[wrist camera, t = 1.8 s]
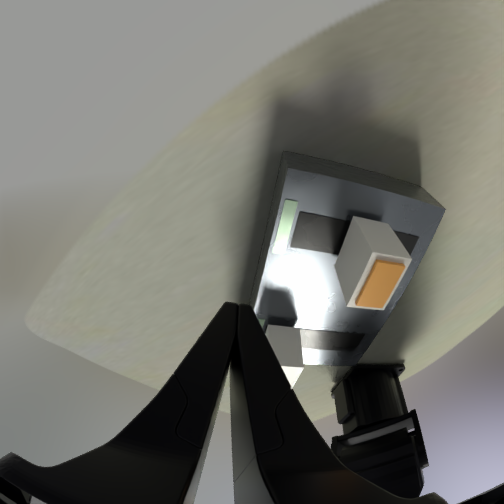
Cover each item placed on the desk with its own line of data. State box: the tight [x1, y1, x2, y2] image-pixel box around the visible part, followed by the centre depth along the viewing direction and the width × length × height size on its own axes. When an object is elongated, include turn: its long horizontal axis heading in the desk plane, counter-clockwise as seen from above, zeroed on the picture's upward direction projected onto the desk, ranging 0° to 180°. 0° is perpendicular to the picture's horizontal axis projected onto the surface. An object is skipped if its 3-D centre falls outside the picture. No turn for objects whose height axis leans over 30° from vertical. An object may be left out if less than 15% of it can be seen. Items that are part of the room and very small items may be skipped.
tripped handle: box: [334, 216, 412, 310], centre depth 13 cm, size 2×3×3 cm, turn 171°
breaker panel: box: [249, 151, 446, 366], centre depth 18 cm, size 9×14×3 cm, turn 171°
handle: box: [265, 325, 304, 389], centre depth 17 cm, size 2×3×3 cm, turn 170°
